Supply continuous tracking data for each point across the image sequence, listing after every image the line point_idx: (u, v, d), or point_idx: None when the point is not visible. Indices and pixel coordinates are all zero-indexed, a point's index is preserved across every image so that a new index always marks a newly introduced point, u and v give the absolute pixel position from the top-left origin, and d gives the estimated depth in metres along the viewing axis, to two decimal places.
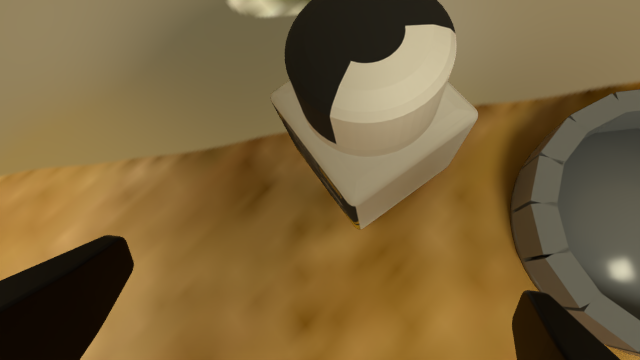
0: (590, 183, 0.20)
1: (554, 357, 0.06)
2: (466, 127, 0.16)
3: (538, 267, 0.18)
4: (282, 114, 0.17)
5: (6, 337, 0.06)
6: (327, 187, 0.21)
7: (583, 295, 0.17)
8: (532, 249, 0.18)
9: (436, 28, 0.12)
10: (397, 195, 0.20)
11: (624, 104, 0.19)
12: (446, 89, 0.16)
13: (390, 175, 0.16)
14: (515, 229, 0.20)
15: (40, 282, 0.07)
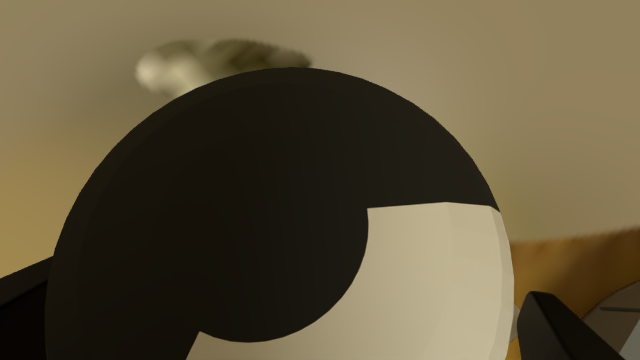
0: None
1: (560, 358, 0.06)
2: None
3: None
4: None
5: (2, 336, 0.06)
6: None
7: None
8: None
9: (455, 212, 0.04)
10: None
11: None
12: None
13: None
14: None
15: (36, 281, 0.07)
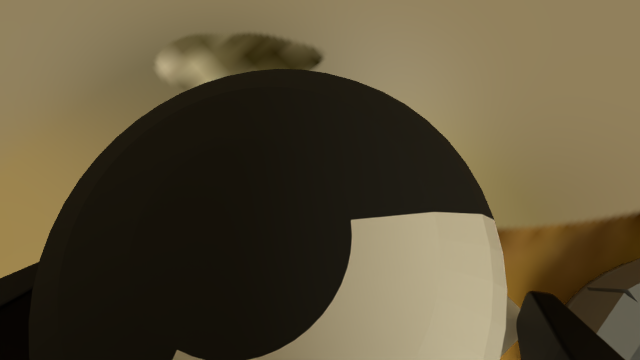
0: None
1: (560, 358, 0.06)
2: (506, 349, 0.08)
3: None
4: None
5: (2, 336, 0.06)
6: None
7: None
8: None
9: (444, 222, 0.04)
10: None
11: None
12: None
13: None
14: None
15: None
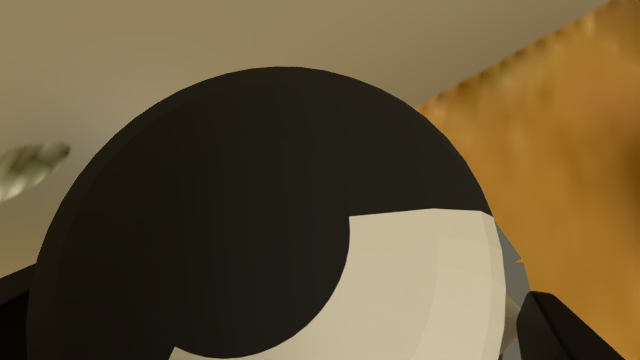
0: None
1: (560, 358, 0.06)
2: None
3: None
4: None
5: (2, 336, 0.06)
6: None
7: None
8: None
9: (443, 219, 0.04)
10: None
11: None
12: None
13: None
14: None
15: None
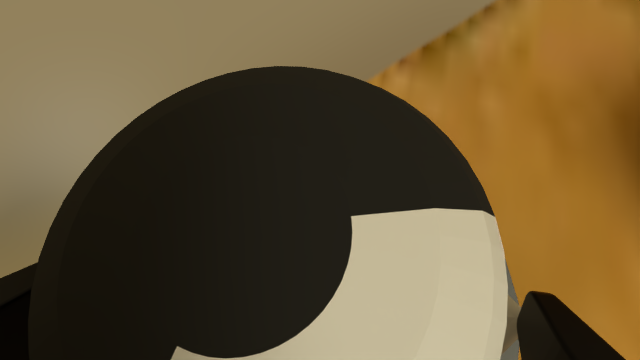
0: None
1: (560, 358, 0.06)
2: (507, 347, 0.08)
3: None
4: None
5: (2, 336, 0.06)
6: None
7: None
8: None
9: (445, 218, 0.04)
10: None
11: None
12: None
13: None
14: None
15: None
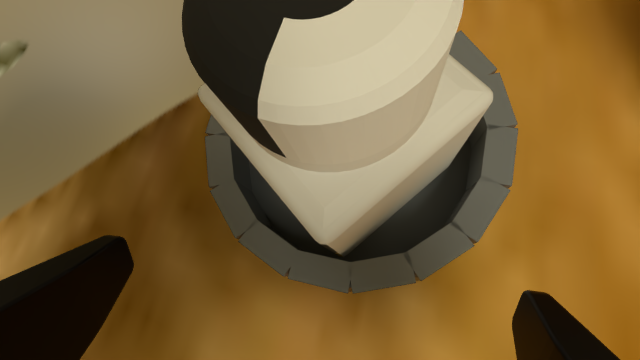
0: None
1: (554, 357, 0.06)
2: (477, 115, 0.11)
3: None
4: (215, 117, 0.12)
5: (6, 337, 0.06)
6: None
7: (282, 261, 0.15)
8: None
9: None
10: (387, 212, 0.15)
11: None
12: None
13: (374, 196, 0.11)
14: None
15: (40, 282, 0.07)
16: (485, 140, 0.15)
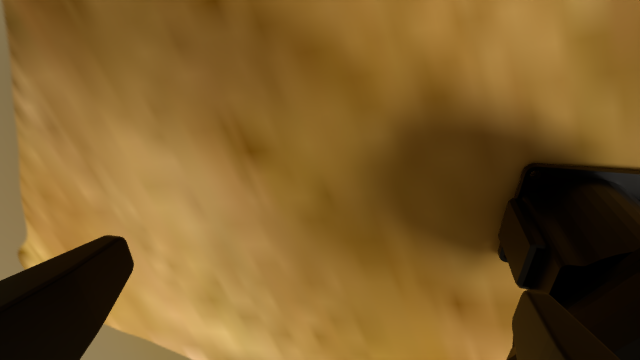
0: None
1: (554, 357, 0.06)
2: None
3: None
4: None
5: (6, 337, 0.06)
6: None
7: None
8: None
9: None
10: None
11: None
12: None
13: None
14: None
15: (40, 282, 0.07)
16: None
